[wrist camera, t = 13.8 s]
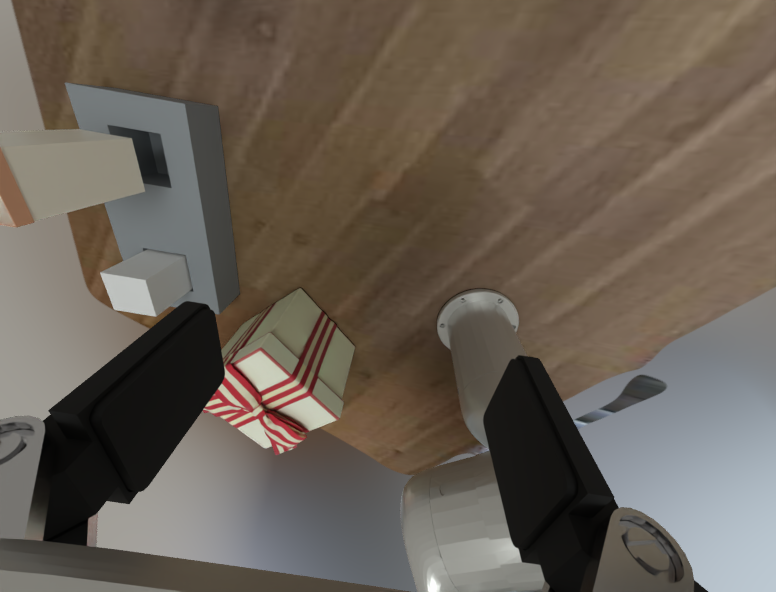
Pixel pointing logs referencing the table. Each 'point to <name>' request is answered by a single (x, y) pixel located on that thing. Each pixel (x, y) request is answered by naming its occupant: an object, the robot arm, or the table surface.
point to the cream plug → (63, 172)
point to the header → (166, 201)
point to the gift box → (283, 373)
